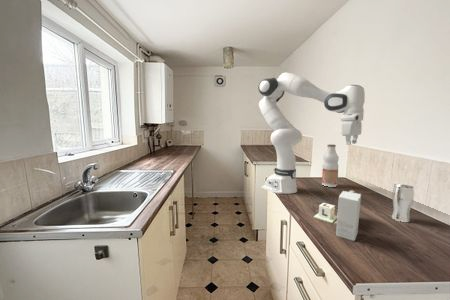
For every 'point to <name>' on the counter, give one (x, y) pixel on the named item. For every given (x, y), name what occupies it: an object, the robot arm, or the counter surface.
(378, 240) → the counter surface
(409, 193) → the beer glass
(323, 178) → the fruit juice
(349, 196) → the skincare box
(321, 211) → the lettered cube
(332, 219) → the pad
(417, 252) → the counter surface
